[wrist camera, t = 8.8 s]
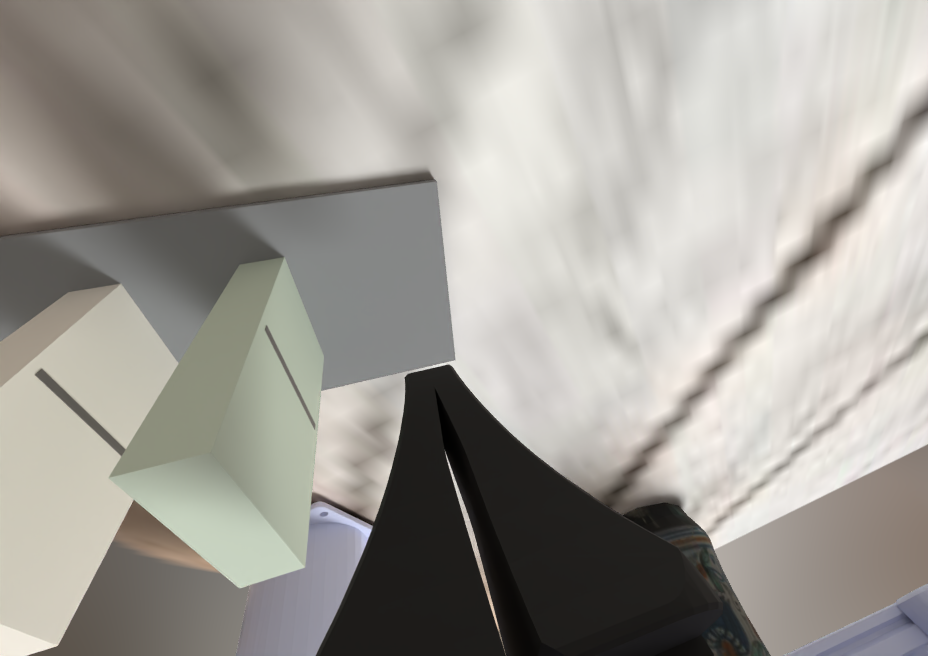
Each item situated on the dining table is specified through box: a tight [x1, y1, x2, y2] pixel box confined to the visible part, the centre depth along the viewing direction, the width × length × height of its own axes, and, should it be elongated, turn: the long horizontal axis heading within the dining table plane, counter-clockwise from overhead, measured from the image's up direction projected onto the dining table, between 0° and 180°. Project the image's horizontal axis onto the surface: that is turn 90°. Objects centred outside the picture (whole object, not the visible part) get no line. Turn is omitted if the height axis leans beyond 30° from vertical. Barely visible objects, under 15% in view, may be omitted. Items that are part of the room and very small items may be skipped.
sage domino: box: [109, 257, 324, 588], centre depth 11 cm, size 2×5×9 cm, turn 4°
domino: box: [0, 284, 179, 656], centre depth 10 cm, size 2×5×9 cm, turn 4°
